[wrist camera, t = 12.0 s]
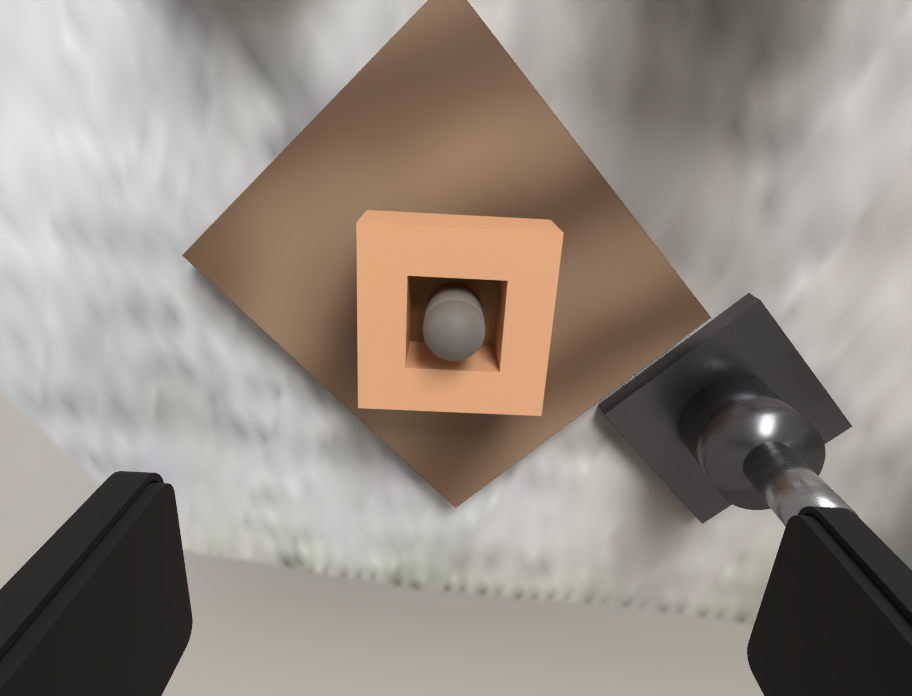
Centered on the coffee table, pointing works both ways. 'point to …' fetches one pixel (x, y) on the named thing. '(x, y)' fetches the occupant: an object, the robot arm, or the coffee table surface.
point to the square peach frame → (469, 257)
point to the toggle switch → (459, 193)
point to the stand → (733, 418)
